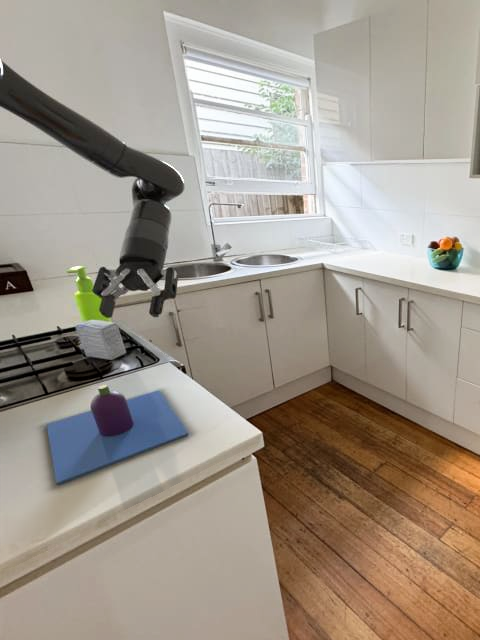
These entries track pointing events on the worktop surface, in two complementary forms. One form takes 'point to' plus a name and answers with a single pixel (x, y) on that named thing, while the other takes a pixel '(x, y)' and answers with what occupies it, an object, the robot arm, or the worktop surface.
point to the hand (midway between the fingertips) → (130, 315)
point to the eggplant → (111, 412)
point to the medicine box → (101, 339)
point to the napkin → (110, 437)
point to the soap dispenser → (87, 296)
